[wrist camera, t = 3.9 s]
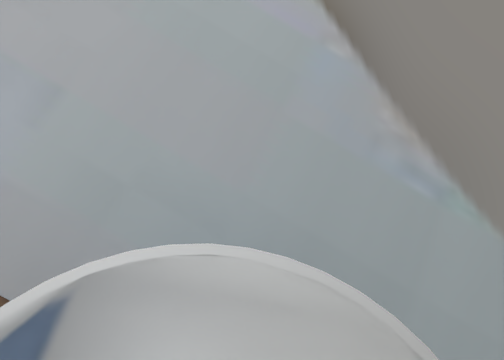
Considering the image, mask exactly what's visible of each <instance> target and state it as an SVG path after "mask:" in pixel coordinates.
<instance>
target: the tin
mask: <svg viewBox="0 0 504 360" xmlns="http://www.w3.org/2000/svg"><path fill="white" fill-rule="evenodd" d="M0 360H439V359H438V358H437V357H436V356H435V355H434V353H433V352H432V351H431V350H430V349H429V348H428V347H427V346H426V345H425V344H424V343H423V342H422V341H421V340H420V339H419V338H418V337H417V336H415V335H414V334H413V333H412V332H411V331H410V330H409V329H408V328H407V327H406V326H405V325H404V324H403V323H401V322H400V321H399V320H398V319H397V318H396V317H395V316H393V315H392V314H391V313H389V312H388V311H387V310H385V309H384V308H382V307H381V306H380V305H378V304H377V303H376V302H374V301H373V300H371V299H370V298H369V297H367V296H366V295H365V294H363V293H362V292H360V291H359V290H357V289H355V288H353V287H351V286H350V285H348V284H346V283H344V282H342V281H340V280H339V279H337V278H335V277H333V276H331V275H330V274H328V273H326V272H324V271H321V270H319V269H316V268H314V267H311V266H309V265H306V264H304V263H301V262H299V261H296V260H293V259H291V258H288V257H285V256H281V255H277V254H273V253H269V252H265V251H261V250H257V249H252V248H247V247H238V246H229V245H220V244H211V243H209V244H170V245H164V246H157V247H151V248H144V249H138V250H131V251H127V252H124V253H120V254H117V255H113V256H110V257H106V258H103V259H99V260H96V261H93V262H89V263H87V264H84V265H82V266H79V267H77V268H75V269H72V270H70V271H68V272H65V273H63V274H61V275H58V276H56V277H54V278H51V279H49V280H47V281H45V282H43V283H41V284H40V285H38V286H36V287H34V288H32V289H31V290H29V291H27V292H25V293H24V294H22V295H20V296H18V297H17V298H15V299H13V300H11V301H10V302H8V303H6V304H4V305H3V306H2V307H0Z"/></svg>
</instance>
